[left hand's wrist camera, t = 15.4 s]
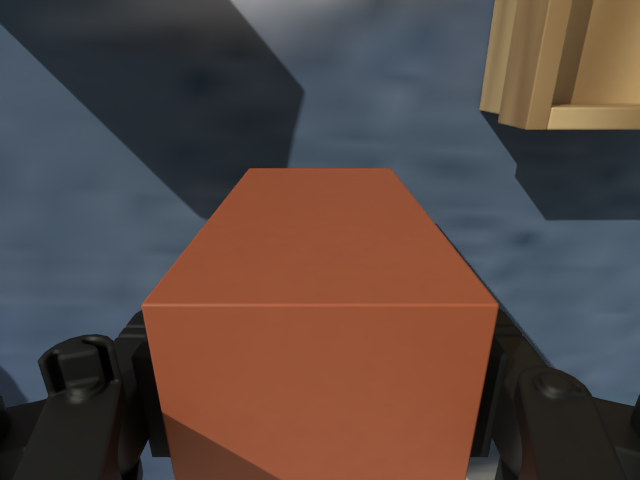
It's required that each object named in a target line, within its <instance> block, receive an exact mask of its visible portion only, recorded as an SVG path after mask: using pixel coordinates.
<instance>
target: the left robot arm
mask: <svg viewBox="0 0 640 480" xmlns="http://www.w3.org/2000/svg"><path fill="white" fill-rule="evenodd" d="M38 364H39V367H40V370H41V374H42V377H43V380H44V383H45V386H46V389H47V392H48V398H47V399H44V400H41V401H36V402H32V403H27V404H23V405H18V406H13V407H9V408H6V406H5V404H4V401H3V398H2V396H0V480H142V477H143V470H142V463H141V459H140V456H141V453H142V451H143V449H144V447H145V445H146V443H147V441H148V439H149V443H150V448H151V453H152V457H170V452H169V447H168V442H167V436H166V431H165V426H164V421H163V415H162V410H161V405H160V400H159V395H158V389H157V384H156V379H155V374H154V369H153V363H152V358H151V353H150V348H149V342H148V337H147V332H146V327H145V322H144V316H143V311H142V310H141V311H139V312H138V313H136V314H135V315H134V316H133V318H132V319H131V320H130V321H129V323H128V324H127V325H126V328H124V329H123V330H122V332H121V333H120V334H119V337H118V338H116V339H115V341H114V342H113V340H111V339H110V338H109V337H108V336H103V335H98V334H94V335H83V336H79V337H75V338H71V339H68V340H66V341H63V342H61V343H59V344H56V345H55V346H53V347H52V348H50V349H49V350H48V351H46V352H45V353H44V354H43V355H42V356H41V357H40V359H39V360H38ZM492 438H493V440H494V442H495V445H496V447H497V449H498V451H499V453H500V459H499V463H498V468H497V472H496V476H495V480H640V395H639V397H638V399H637V402H636V405H635V406H630V405H626V404H621V403H616V402H612V401H607V400H603V399H599V398H595V397H592V395H591V393H590V392H589V390H588V389H587V388H586V386H585V385H584V384H582V383H581V382H580V381H579V380H577V379H576V378H575V377H573V376H571V375H569V374H567V373H565V372H563V371H561V370H557V369H554V368H550V367H548V366H547V365H546V364H545V362H544V361H543V360H542V359H541V357H540V356H539V355H538V353H537V352H536V351H535V350H534V348H533V347H532V346H531V345H530V343H529V342H528V341H527V340H526V338H525V337H524V336H522V333H521V332H520V331H519V330H518V328H517V327H515V326H514V323H513V322H512V321H511V319H510V318H509V317H508V316H507V314H506V313H505V312H503V311H502V310H500V309H498V314H497V319H496V324H495V329H494V335H493V340H492V345H491V350H490V355H489V361H488V366H487V371H486V376H485V381H484V387H483V392H482V397H481V402H480V407H479V413H478V418H477V423H476V428H475V433H474V439H473V444H472V449H471V454H470V457H488V454H489V449H490V444H491V440H492Z"/></svg>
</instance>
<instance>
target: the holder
mask: <svg viewBox="0 0 640 480" xmlns="http://www.w3.org/2000/svg"><path fill="white" fill-rule="evenodd" d="M480 111H485V112H490V113H495V114H499V118H498V123H500V124H504V125H508V126H512V127H516V128H520V129H524V130H546V129H547V130H640V0H495V4H494V11H493V18H492V25H491V32H490V39H489V46H488V54H487V61H486V68H485V75H484V82H483V89H482V96H481V103H480Z"/></svg>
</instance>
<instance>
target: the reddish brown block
mask: <svg viewBox="0 0 640 480" xmlns="http://www.w3.org/2000/svg"><path fill="white" fill-rule="evenodd" d="M498 309H499V305H498V303H497V301H496V300H495V299H494V298H493V296H492V295H491V294H490V293H489V291H488V290H487V289H486V288H485V286H484V285H483V284H482V283H481V281H480V280H479V279H478V278H477V276H476V275H475V274H474V272H473V271H472V270H471V269H470V267H469V266H468V265H467V264H466V262H465V261H464V260H463V259H462V257H461V256H460V255H459V254H458V252H457V251H456V250H455V249H454V247H453V246H452V245H451V243H450V242H449V241H448V240H447V238H446V237H445V236H444V235H443V233H442V232H441V231H440V230H439V228H438V227H437V226H436V225H435V223H434V222H433V221H432V220H431V218H430V217H429V216H428V214H427V213H426V212H425V211H424V209H423V208H422V207H421V206H420V204H419V203H418V202H417V201H416V199H415V198H414V197H413V196H412V194H411V193H410V192H409V191H408V189H407V188H406V187H405V185H404V184H403V183H402V182H401V180H400V179H399V178H398V177H397V175H396V174H395V173H394V172H393V170H392V169H391V168H250V169H248V171H247V172H246V173H245V174H244V176H243V177H242V178H241V180H240V181H239V182H238V183H237V185H236V186H235V187H234V188H233V190H232V191H231V192H230V193H229V195H228V196H227V197H226V198H225V200H224V201H223V202H222V204H221V205H220V206H219V207H218V209H217V210H216V211H215V212H214V214H213V215H212V216H211V217H210V219H209V220H208V221H207V222H206V224H205V225H204V226H203V228H202V229H201V230H200V231H199V233H198V234H197V235H196V236H195V238H194V239H193V240H192V241H191V243H190V244H189V245H188V246H187V248H186V249H185V250H184V252H183V253H182V254H181V255H180V257H179V258H178V259H177V260H176V262H175V263H174V264H173V265H172V267H171V268H170V269H169V270H168V272H167V273H166V274H165V276H164V277H163V278H162V279H161V281H160V282H159V283H158V284H157V286H156V287H155V288H154V289H153V291H152V292H151V293H150V294H149V296H148V297H147V298H146V300H145V301H144V302H143V303H142V311H143V316H144V322H145V327H146V332H147V337H148V342H149V348H150V353H151V358H152V363H153V369H154V374H155V379H156V384H157V389H158V395H159V400H160V405H161V410H162V415H163V421H164V426H165V431H166V436H167V442H168V447H169V452H170V457H171V462H172V468H173V473H174V478H175V480H466V475H467V470H468V464H469V459H470V454H471V449H472V444H473V439H474V433H475V428H476V423H477V418H478V413H479V407H480V402H481V397H482V392H483V387H484V381H485V376H486V371H487V366H488V361H489V355H490V350H491V345H492V340H493V335H494V329H495V324H496V319H497V314H498Z"/></svg>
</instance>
